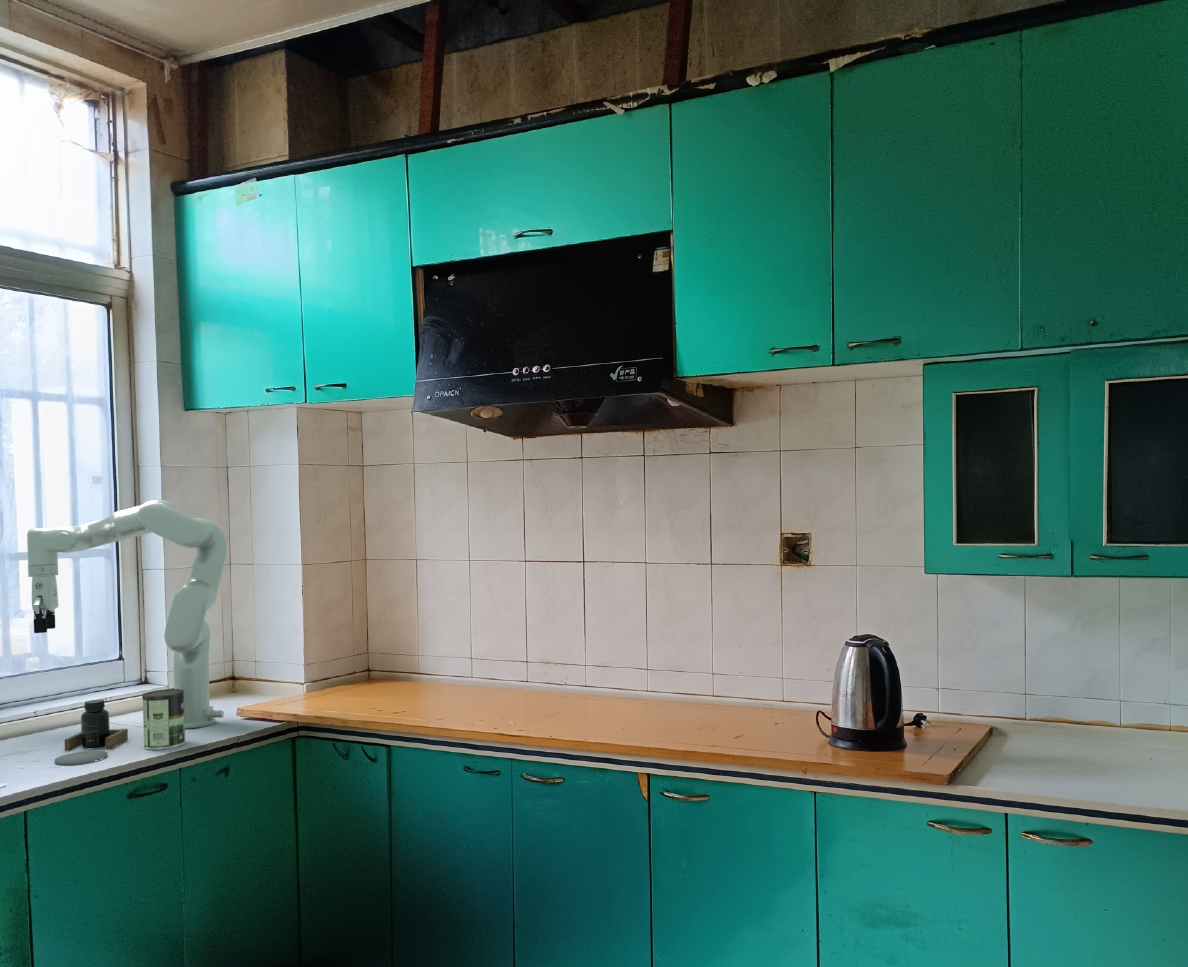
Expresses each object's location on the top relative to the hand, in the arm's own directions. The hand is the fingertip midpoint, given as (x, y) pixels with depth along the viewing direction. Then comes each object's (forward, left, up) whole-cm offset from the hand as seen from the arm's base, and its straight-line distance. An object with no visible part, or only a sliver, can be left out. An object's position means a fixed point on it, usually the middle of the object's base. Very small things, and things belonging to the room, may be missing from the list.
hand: (44, 630), depth 286 cm
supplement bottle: (-23, +19, -29) cm, 41 cm away
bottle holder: (-23, +19, -29) cm, 41 cm away
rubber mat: (-26, +33, -29) cm, 51 cm away
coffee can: (-42, +21, -29) cm, 55 cm away
